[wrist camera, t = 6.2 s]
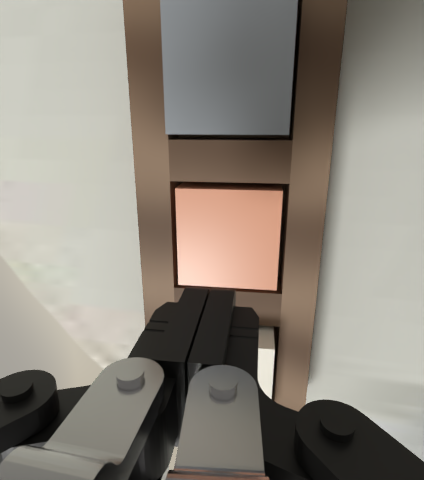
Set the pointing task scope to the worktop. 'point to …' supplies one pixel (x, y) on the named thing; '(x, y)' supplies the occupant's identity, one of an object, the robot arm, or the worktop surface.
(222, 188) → the terracotta key
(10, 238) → the worktop surface
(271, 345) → the cream key
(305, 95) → the key console
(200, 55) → the slate key
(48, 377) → the robot arm
